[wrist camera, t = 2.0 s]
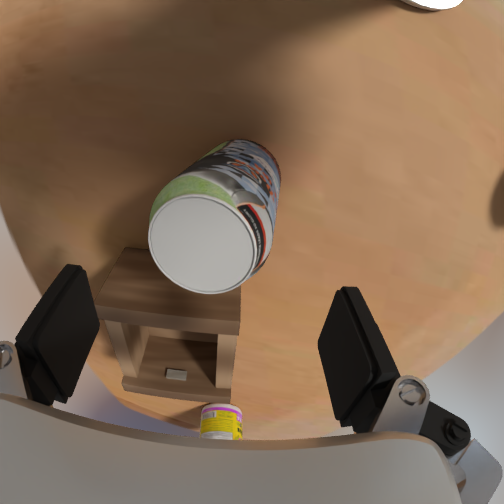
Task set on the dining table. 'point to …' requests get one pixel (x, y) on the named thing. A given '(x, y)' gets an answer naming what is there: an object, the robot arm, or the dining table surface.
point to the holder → (169, 332)
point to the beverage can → (217, 218)
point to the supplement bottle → (221, 422)
